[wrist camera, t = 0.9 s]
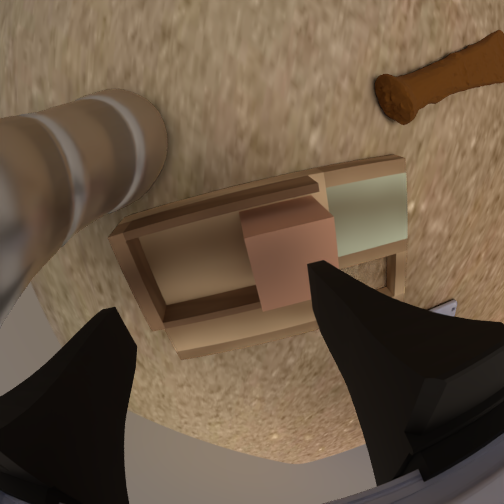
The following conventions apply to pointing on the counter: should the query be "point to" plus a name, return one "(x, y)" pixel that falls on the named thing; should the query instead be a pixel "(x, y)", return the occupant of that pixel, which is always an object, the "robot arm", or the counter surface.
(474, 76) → the primitive tool
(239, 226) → the board
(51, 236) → the plastic bottle
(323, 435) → the counter surface
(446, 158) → the counter surface
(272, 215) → the block
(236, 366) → the counter surface
